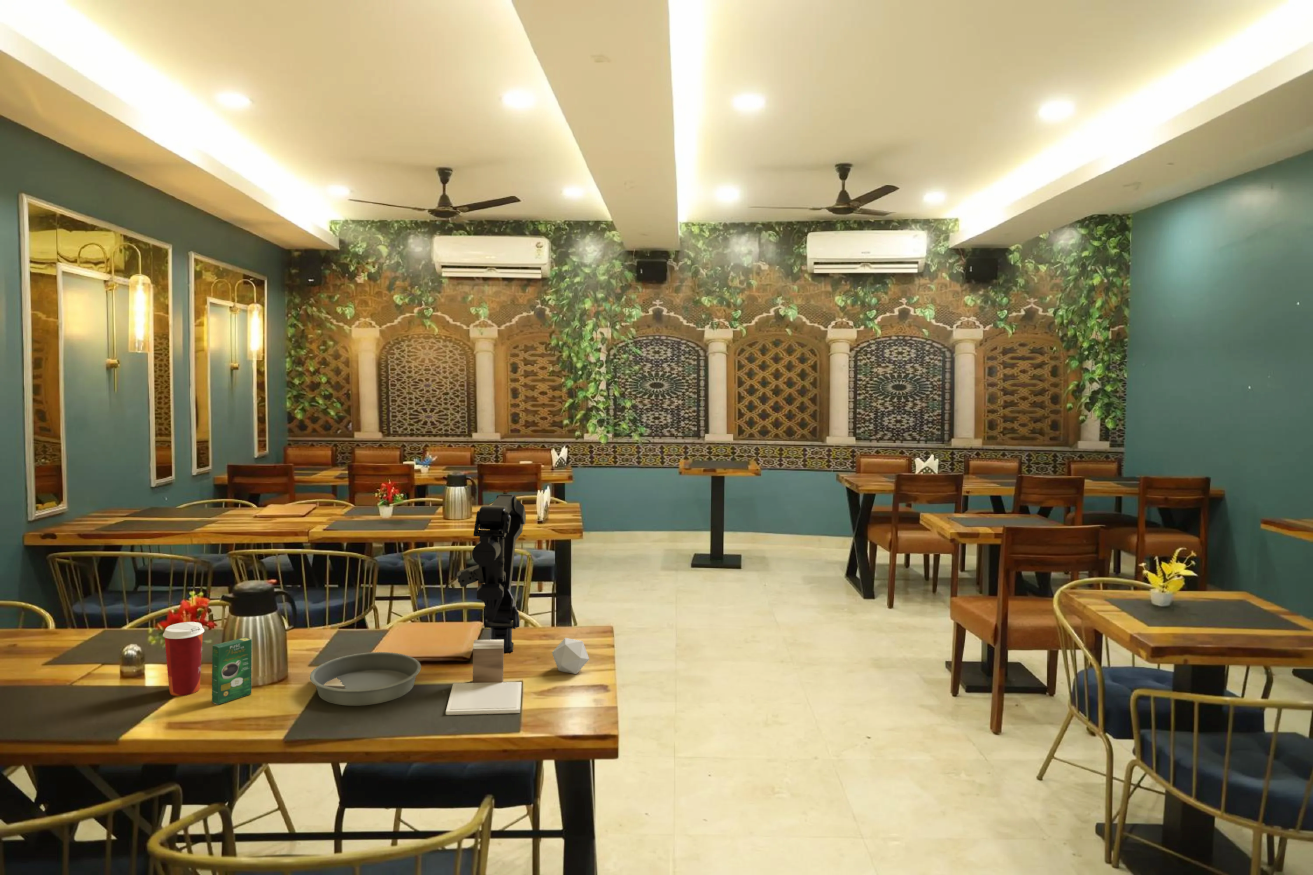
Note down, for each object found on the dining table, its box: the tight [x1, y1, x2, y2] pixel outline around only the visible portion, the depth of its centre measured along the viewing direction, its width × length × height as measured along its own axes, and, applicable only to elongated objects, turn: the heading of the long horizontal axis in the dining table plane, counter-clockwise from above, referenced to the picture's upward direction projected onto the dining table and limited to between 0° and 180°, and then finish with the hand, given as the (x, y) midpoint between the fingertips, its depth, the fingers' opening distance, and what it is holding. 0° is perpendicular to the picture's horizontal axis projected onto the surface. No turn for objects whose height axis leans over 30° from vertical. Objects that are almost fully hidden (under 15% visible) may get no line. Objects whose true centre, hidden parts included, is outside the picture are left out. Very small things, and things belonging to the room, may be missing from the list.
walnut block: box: [472, 639, 505, 683], centre depth 201 cm, size 4×7×10 cm, turn 98°
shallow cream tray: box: [445, 681, 523, 716], centre depth 191 cm, size 16×16×1 cm
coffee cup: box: [162, 621, 205, 697], centre depth 190 cm, size 8×8×15 cm
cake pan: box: [309, 651, 422, 706], centre depth 196 cm, size 25×25×4 cm
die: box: [551, 637, 590, 675], centre depth 211 cm, size 8×9×10 cm
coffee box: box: [211, 636, 253, 705], centre depth 187 cm, size 8×3×13 cm, turn 147°
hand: (491, 617), depth 210 cm, fingers open, 6 cm apart
